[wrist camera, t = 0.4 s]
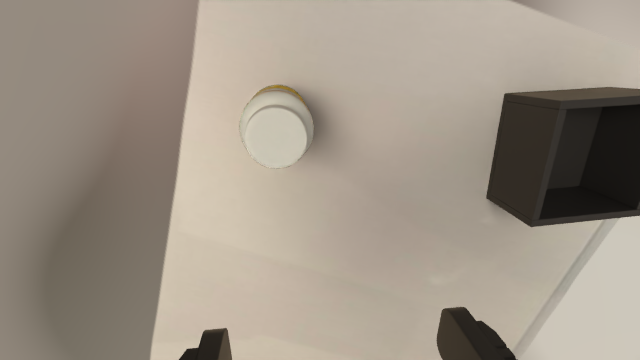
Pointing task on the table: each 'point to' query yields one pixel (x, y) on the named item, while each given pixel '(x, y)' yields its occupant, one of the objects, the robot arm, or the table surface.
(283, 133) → the supplement bottle
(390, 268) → the table surface
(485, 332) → the robot arm
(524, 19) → the table surface
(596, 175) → the basket
